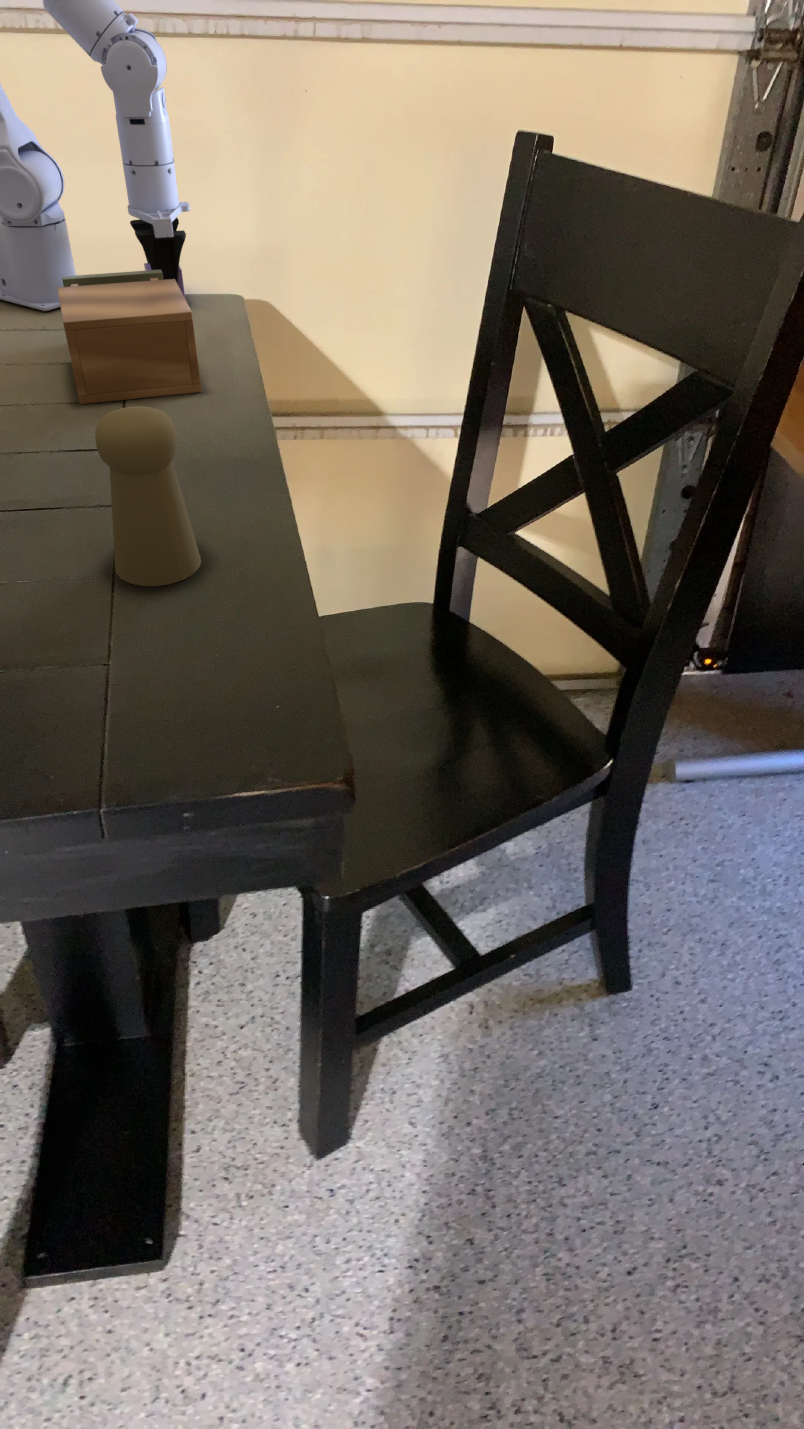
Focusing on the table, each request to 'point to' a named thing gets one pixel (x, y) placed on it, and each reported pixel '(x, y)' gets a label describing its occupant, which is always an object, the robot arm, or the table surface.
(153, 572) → the tan pawn
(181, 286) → the block
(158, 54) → the robot arm
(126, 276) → the drawer
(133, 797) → the table surface
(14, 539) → the table surface
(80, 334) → the cabinet
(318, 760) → the table surface
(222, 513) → the table surface
